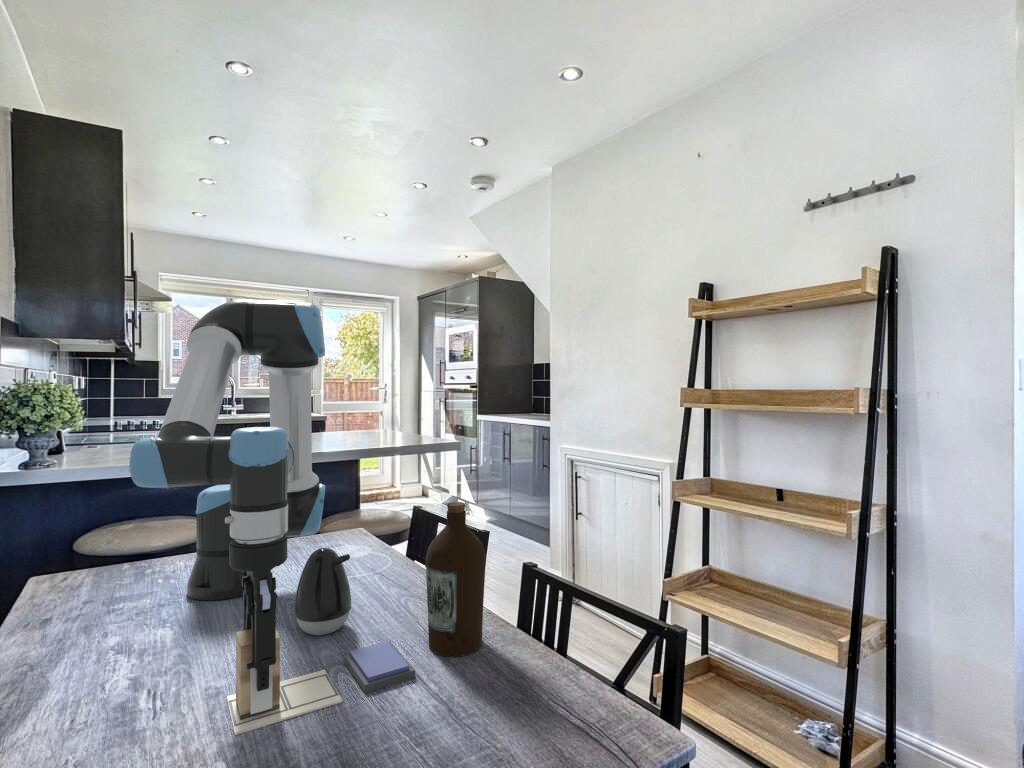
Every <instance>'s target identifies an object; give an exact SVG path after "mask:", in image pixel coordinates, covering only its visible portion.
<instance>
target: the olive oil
mask: <svg viewBox="0 0 1024 768" xmlns="http://www.w3.org/2000/svg"><path fill="white" fill-rule="evenodd" d="M446 505H447V511H446V525H445V526H444V527H443V528H442V530H440V532H439V533H438V534H437V535H436V536H435V537H434V538H433V540H432V541H431V542H430V544H429V546H428V549H427V552H426V556H425V563H424V565H425V575H426V576H425V578H426V598H427V599H426V600H427V601H426V602H427V622H428V623H427V625H428V626H427V627H428V630H427V631H428V634H427V635H428V647H429V649H430V650H431V652H433V653H434V654H436V655H439V656H443V657H451V658H453V657H462V656H468V655H470V654H473V653H476V651H478V650H479V649H480V648H481V646H482V644H483V622H484V621H483V619H484V618H483V617H484V616H483V615H484V602H485V601H484V599H485V598H484V596H485V581H486V580H485V579H486V564H487V555H486V551H485V548H484V545H483V542H482V541H481V540H480V538H479V537H478V536H477V535H476V534H475V533H474V532H473V531H472V530H471V529H470V528H469V527H468V525H467V523H466V521H467V520H466V517H467V511H466V510H465V509H466V503H465V502H462V501H451V502H448V503H447V504H446Z"/></svg>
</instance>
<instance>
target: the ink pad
mask: <svg viewBox="0 0 1024 768" xmlns="http://www.w3.org/2000/svg"><path fill="white" fill-rule="evenodd" d="M343 663H344V664H345V666H346V667H347V669H349V671H350V673H351V674H352V676H353V677H354V679H355V680H356V682H357V684H358V685H359V686H360V688H361V689H362V691H363V692H364V693H365V694H367V693H369V692H370V693H371V692H373V691H376V690H379V689H383V688H386V687H390V686H392V685H396V684H399V683H402V682H405V681H409V680H412V679H415V678H416V669H415V668H414V667H413V666H412V665H411V663H409V662H408V660H407V658H405V657H404V656H403V654H401V652H400V651H399V650H398V649H397V648H396V647H395V646H394V644H393V643H391V642H389V641H384V642H383V641H382V642H380V643H376V644H371V645H368V646H365V647H360V648H357V649H353V650H349V652H347V653H344V654H343Z"/></svg>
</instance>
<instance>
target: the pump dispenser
mask: <svg viewBox="0 0 1024 768" xmlns="http://www.w3.org/2000/svg"><path fill="white" fill-rule="evenodd" d="M350 560H351V555H350V554H349V553H347V554H343V555H339V554H338V553H337V552H336V551H335V550H334V549H332V548H330V547H329V548H328V547H320V548H318V549H315V550H314V551H313V552H312V553H311V554H310V555H309V557H308V558H307V560H306V562H305V565H304V566H303V569H302V572H301V575H300V576H299V577H300V578H299V580H298V583H297V588H296V594H295V598H294V606H293V607H294V608H293V615H294V617H295V618H296V622H297V624H298V626H299V628H300V629H301V630H302V631H304V632H305V633H306V634H310V635H312V636H325V635H329V634H332V633H334V632H335V631H337V630H339V629H340V628H341V627H343V625H344V624H345V623H346V621H347V620H348V618H349V615H350V611H351V609H352V595H351V594H352V593H351V588H350V587H351V586H350V583H349V581H350V580H349V579H348V578H349V577H348V575H347V572H346V569H345V566H344V563H345V562H347V561H350Z"/></svg>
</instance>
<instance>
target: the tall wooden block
mask: <svg viewBox="0 0 1024 768" xmlns="http://www.w3.org/2000/svg"><path fill="white" fill-rule="evenodd" d="M235 634H236V635H235V636H236V637H235V640H236V641H235V644H236V646H235V654H236V655H235V670H236V671H235V694H236V704H237V708H238V712H239V716H240V720H241V719H245V718H248V717H251V716H255V715H258V714H262V713H265V712H268V711H272V710H275V709H278V708H280V682H281V635H280V634H279V632H278V630H277V629H276V663H275V664H274V665H273V685H272V708H271V709H268V710H265V711H261V712H258V713H254V714H251V713H250V669H248V670H247V665H246V664H249V663H252V629H249V630H244V631H242V630H240V631H236V633H235Z"/></svg>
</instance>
